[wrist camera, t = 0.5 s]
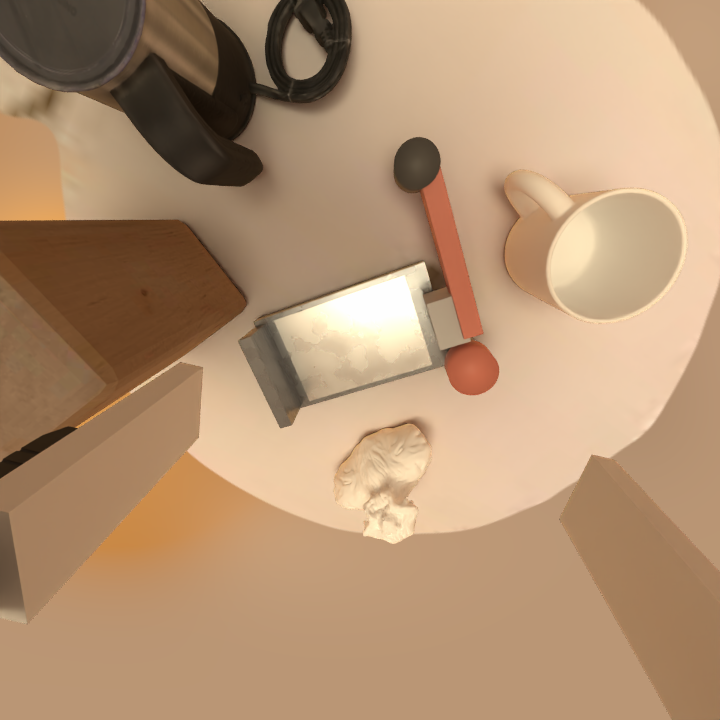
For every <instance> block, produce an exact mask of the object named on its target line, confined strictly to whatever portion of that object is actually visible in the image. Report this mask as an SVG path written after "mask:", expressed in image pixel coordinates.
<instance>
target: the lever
mask: <svg viewBox="0 0 720 720" xmlns="http://www.w3.org/2000/svg"><path fill="white" fill-rule="evenodd" d="M440 162H441V161H440V154H439V151H438V149H437V147H436V146H435V145H434V143H432V142H431V141H430V140H428V139H426V138H422V137H416V138H412V139H409V140H407V141H406V142H405V143H403V144H402V145H401V147H400V148H399V149H398V151H397V153H396V156H395V160H394V179H395V182H396V184H397V185H398V187H399V188H400V189H402V190H403V191H405V192H407V193H417V192H420V193H421V197H422V200H423V204H424V207H425V211H426V214H427V218H428V222H429V225H430V229H431V232H432V236H433V240H434V243H435V247H436V250H437V254H438V257H439V261H440V265H441V268H442V272H443V275H444V279H445V282H446V286H447V287H444V288H441V289H438V290H435V291H432V292H429V293H426V294H423V298H424V302H425V305H426V308H427V311H428V315H429V318H430V321H431V325H432V328H433V331H434V335H435V337H436V340H437V343H438V346H439V348H440V351H441V350H444V349H447V348H450V349H449V351H448V352H447V354H446V357H445V362H444V364H445V369H446V372H447V375H448V377H449V380H450V383H451V385H452V386H453V387H454V388H455V389H456V390H457V391H458V392H460V393H463V394H466V395H478V394H482V393H484V392H486V391H488V390H489V389H490V388H492V387H493V385H494V384H495V383H496V381H497V379H498V376H499V366H498V363H497V361H496V359H495V358H494V357H493V355H492V354H491V353H490V351H489V350H488V349H487V347H486V346H485V345H483V344H482V343H480V342H478V341H474V340H470V338H471V337H474V336H477V335H481V334H483V330H482V326H481V322H480V318H479V314H478V311H477V307H476V303H475V299H474V295H473V291H472V287H471V283H470V280H469V276H468V272H467V268H466V264H465V260H464V256H463V252H462V249H461V245H460V241H459V237H458V233H457V229H456V225H455V221H454V218H453V214H452V210H451V206H450V202H449V198H448V194H447V190H446V187H445V183H444V179H443V175H442V171H441V167H440Z"/></svg>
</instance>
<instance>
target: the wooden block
mask: <svg viewBox="0 0 720 720" xmlns="http://www.w3.org/2000/svg"><path fill="white" fill-rule="evenodd" d="M245 306H246V302H245V299H244V297H243V296H242V295H241V293H240V292H239V291H238V289H237V288H236V287H235V286H234V284H233V283H232V282H231V281H230V279H229V278H228V277H227V276H226V274H225V273H224V272H223V271H222V269H221V268H220V267H219V266H218V264H217V263H216V262H215V261H214V259H213V258H212V257H211V255H210V254H209V253H208V252H207V250H206V249H205V248H204V247H203V245H202V244H201V243H200V242H199V240H198V239H197V238H196V237H195V235H194V234H193V233H192V232H191V230H190V229H189V228H188V226H187V225H185V224H184V223H182V222H181V221H179V220H62V221H61V220H59V221H57V220H56V221H55V220H53V221H0V462H2V460H3V458H5V457H7V456H8V455H10V454H12V453H13V452H15V451H20V450H21V448H22V447H23V446H25V445H27V444H28V443H30V442H32V441H33V440H35V439H37V438H38V437H40V436H42V435H44V434H47V433H50V432H53V431H56V430H59V429H61V428H64V427H67V426H70V427H74V428H75V427H76V426H78V425H79V424H81V423H82V422H84V421H85V420H87V419H88V418H90V417H91V416H93V415H94V414H96V413H97V412H99V411H100V410H102V409H104V408H105V407H107V406H108V405H110V404H111V403H113V402H114V401H116V400H117V399H119V398H120V397H122V396H123V395H125V394H126V393H128V392H129V391H131V390H132V389H134V388H135V387H137V386H138V385H140V384H141V383H143V382H144V381H146V380H148V379H149V378H151V377H152V376H154V375H155V374H157V373H158V372H160V371H161V370H163V369H164V368H166V367H167V366H169V365H170V364H172V363H173V362H175V361H176V360H178V359H179V358H181V357H182V356H184V355H185V354H187V353H188V352H189V351H191V350H192V349H193V348H195V347H196V346H197V345H199V344H200V343H201V342H203V341H204V340H205V339H207V338H208V337H209V336H211V335H212V334H213V333H215V332H216V331H217V330H219V329H220V328H221V327H223V326H224V325H225V324H227V323H228V322H229V321H231V320H232V319H233V318H235V317H236V316H237V315H239V314H240V313H241V312H243V310H244V308H245Z"/></svg>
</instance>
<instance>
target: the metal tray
mask: <svg viewBox="0 0 720 720" xmlns="http://www.w3.org/2000/svg"><path fill="white" fill-rule="evenodd" d="M432 291H433V290H432V286H431V283H430V279H429V276H428V272H427V269H426V266H425V262H424V261H420V262H417V263H414V264H411V265H408V266H406V267H403V268H400V269H397V270H394V271H391V272H389V273H386V274H383V275H380V276H377V277H374V278H372V279H369V280H366V281H363V282H360V283H357V284H354V285H352V286H349V287H346V288H343V289H340V290H337V291H335V292H332V293H329V294H326V295H323V296H320V297H318V298H315V299H312V300H309V301H306V302H303V303H300V304H298V305H295V306H292V307H289V308H286V309H283V310H281V311H278V312H275V313H272V314H269V315H266V316H263V317H261V318H258V319H257V320H256V321H254V324H255V326H256V327H255V328H254V329H252V330H251V331H250V332H249V333H247V334H246V335H245V336H244V337H242V338H241V339H240V340H239V341H238V342H239V344H240V346H241V348H242V351H243V353H244V355H245V357H246V359H247V361H248V363H249V365H250V367H251V369H252V371H253V373H254V375H255V377H256V379H257V381H258V383H259V386H260V388H261V390H262V392H263V394H264V396H265V398H266V400H267V402H268V404H269V406H270V408H271V410H272V412H273V414H274V416H275V418H276V421H277V423H278V425H279V427H280V428H284V427H287V426H291V425H292V424H293V422H294V420H295V418H296V416H297V414H298V412H299V409H300V408H302V407H306V406H309V405H312V404H316V403H319V402H323V401H326V400H329V399H333V398H336V397H340V396H343V395H347V394H350V393H353V392H357V391H360V390H364V389H367V388H370V387H374V386H377V385H381V384H384V383H387V382H391V381H394V380H398V379H401V378H405V377H408V376H411V375H415V374H418V373H422V372H425V371H428V370H432V369H435V368H439V367H442V366H445V364H444V362H445V357H446V354H447V352H448V351H449V349H450V348H447V349H444V350H441V351H440V348H439V346H438V343H437V340H436V337H435V335H434V331H433V328H432V325H431V321H430V318H429V315H428V311H427V308H426V305H425V302H424V298H423V294H426V293H429V292H432ZM470 340H474V339H473V337H471V338H470ZM474 341H475V340H474Z"/></svg>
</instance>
